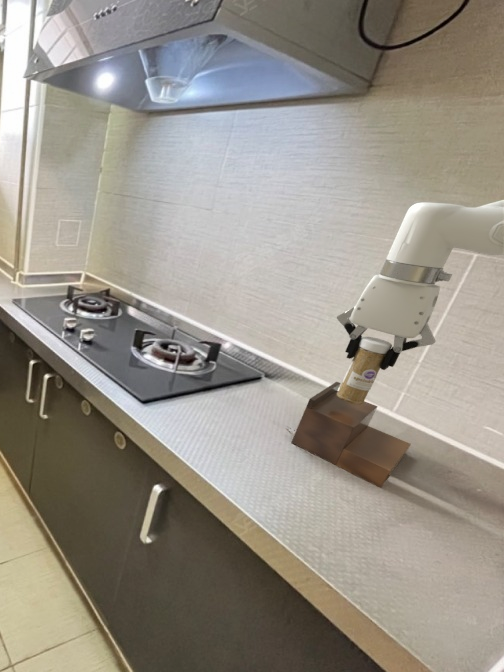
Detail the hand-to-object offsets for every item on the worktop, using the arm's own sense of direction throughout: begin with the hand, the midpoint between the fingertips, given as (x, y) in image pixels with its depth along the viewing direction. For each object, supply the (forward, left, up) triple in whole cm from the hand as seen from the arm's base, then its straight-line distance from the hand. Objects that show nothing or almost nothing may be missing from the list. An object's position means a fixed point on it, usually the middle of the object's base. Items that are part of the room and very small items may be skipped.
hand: (367, 361), depth 78 cm
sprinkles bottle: (0, 0, -9) cm, 9 cm away
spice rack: (-3, 0, -20) cm, 20 cm away
